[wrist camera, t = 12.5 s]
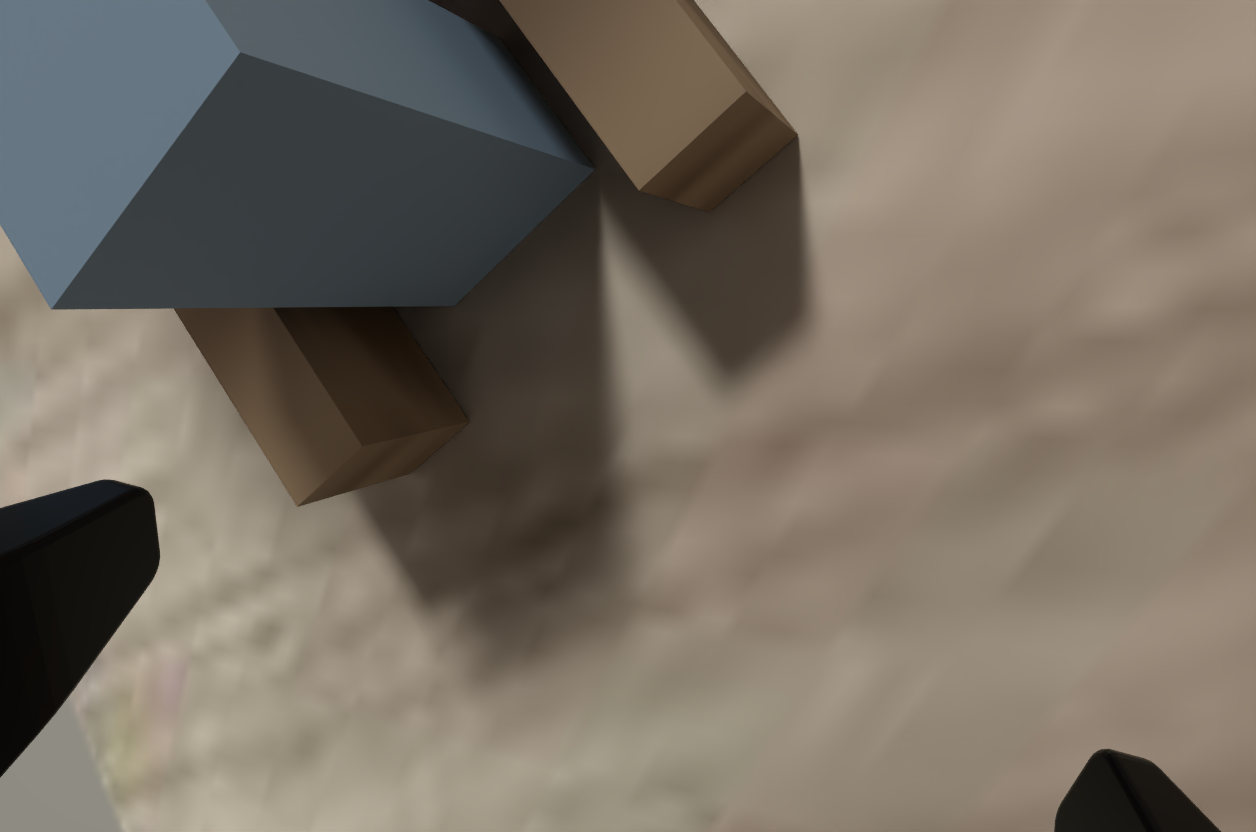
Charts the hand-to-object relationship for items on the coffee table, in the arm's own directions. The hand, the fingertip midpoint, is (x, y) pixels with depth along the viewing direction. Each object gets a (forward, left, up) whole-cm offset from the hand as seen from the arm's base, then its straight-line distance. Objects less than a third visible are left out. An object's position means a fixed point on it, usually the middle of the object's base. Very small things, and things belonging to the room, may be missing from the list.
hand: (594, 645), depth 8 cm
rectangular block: (+9, +4, -11) cm, 15 cm away
